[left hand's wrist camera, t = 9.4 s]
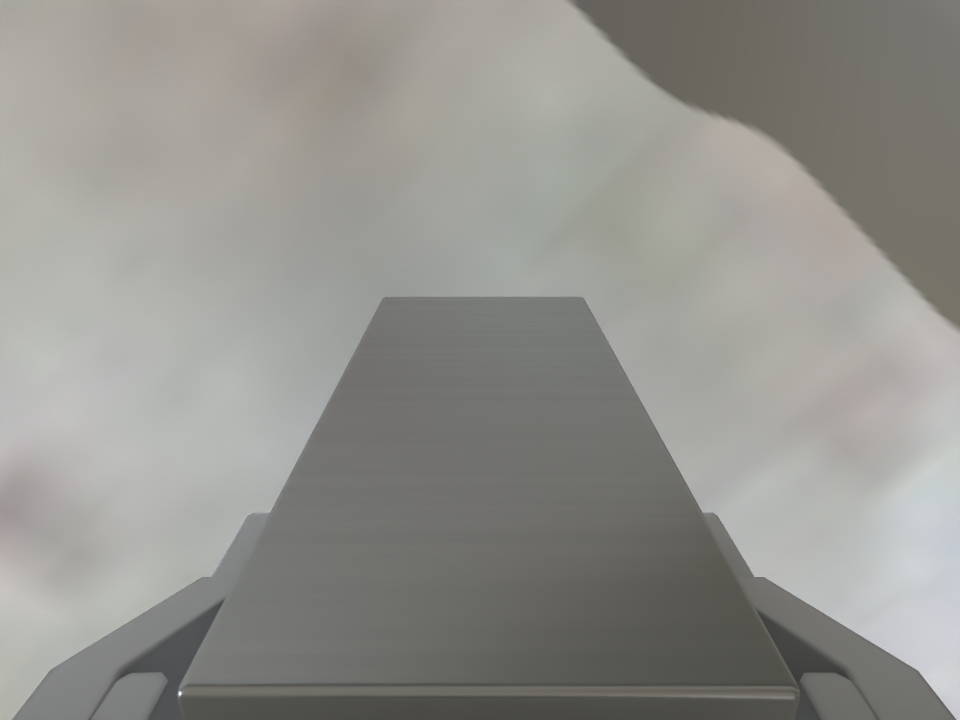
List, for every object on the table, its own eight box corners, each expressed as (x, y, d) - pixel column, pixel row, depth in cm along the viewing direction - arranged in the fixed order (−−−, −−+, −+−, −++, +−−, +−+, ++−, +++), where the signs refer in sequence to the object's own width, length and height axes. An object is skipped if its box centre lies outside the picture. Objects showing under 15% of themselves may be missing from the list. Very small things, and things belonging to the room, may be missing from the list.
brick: (584, 295, 14) (807, 693, 5) (571, 506, 16) (705, 1093, 7) (382, 295, 14) (168, 693, 5) (394, 507, 16) (267, 1094, 7)
